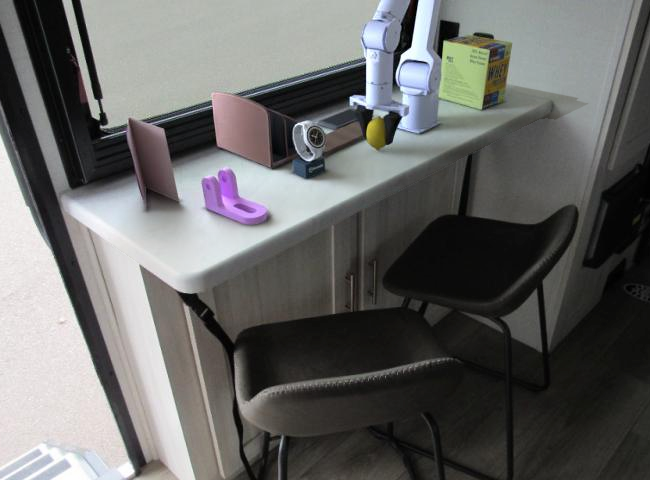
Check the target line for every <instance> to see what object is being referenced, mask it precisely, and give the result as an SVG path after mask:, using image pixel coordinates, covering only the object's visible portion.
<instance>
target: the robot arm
mask: <svg viewBox="0 0 650 480" xmlns="http://www.w3.org/2000/svg"><path fill="white" fill-rule="evenodd" d="M441 2H442V0H418V3H417V10H416V14H415V15H416V16H415V22H414V28H413V34H412V42H411V47H410V48H408V49H407V50H405V52H403V53H402V54H401V55H400V60H399V63H398V66H397V69H396V72H395V81H396V84H397V86H398V87H399V88H400V89H399V90H400V92H402V103H401V102H399V101H397V100H394V99H393V77H394V76H393V73H394V72H393V71H394V52H395V51H396V49H397V47H398V45H399V43H400V38H401V31H402V25H401V24H402V22H403V19H404V17H405V15H406V13H407V10H408V8H409V5H410V3H411V0H380V1H379V4H378V6H377V9H376V11H375V13H374V15H373V18H372V19H370V20H369V21H368V22H366V23H365V24H364V26H363V27H362V31H361V36H360V43H361V46H362V48H363V57H364V59H366V60H365V61H366V69H365V71H366V72H365V73H366V74H365V75H366V77H365V78H366V79H365V80H366V81H365V82H366V83H365V85H366V86H365V95H359V94H353V95H351V96H349V106H351V107H355V106H356V108H355V109H356V110H354V114H355V116H356V117H357V119H358V122H359V124H360V126H361V129H362V133H363V137H364V138H363V140H365V141H367V137H366V132H367V127H368V124H369V122H370V121H371V120H372V119H373V117H374V111H381V112H386V113H387V114H385V115H383V117H382V118H383V119H384V123H385V131H386V134H385V143H386V146H390V145H392V144H393V143H394V140H395V135H396V132H397V129H400V130H403V131H406V132H407V131H408V132H410V133H415V134H418V135H419V134H422V133H424V132H427V131H429V130H430V129H433V128H434V127H437V126H438V125H441V121H439V120H438V116H439V105H440V98H439V92H438V91H437V90H438V89H439V88H440V81H441V66H442V57H440V55H439V54H437V52H436V51H435V50H434V43H435V38H436V32H437V27H438V20H439V15H440V9H441ZM418 61H419V62H418ZM424 62H425V63H424Z"/></svg>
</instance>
